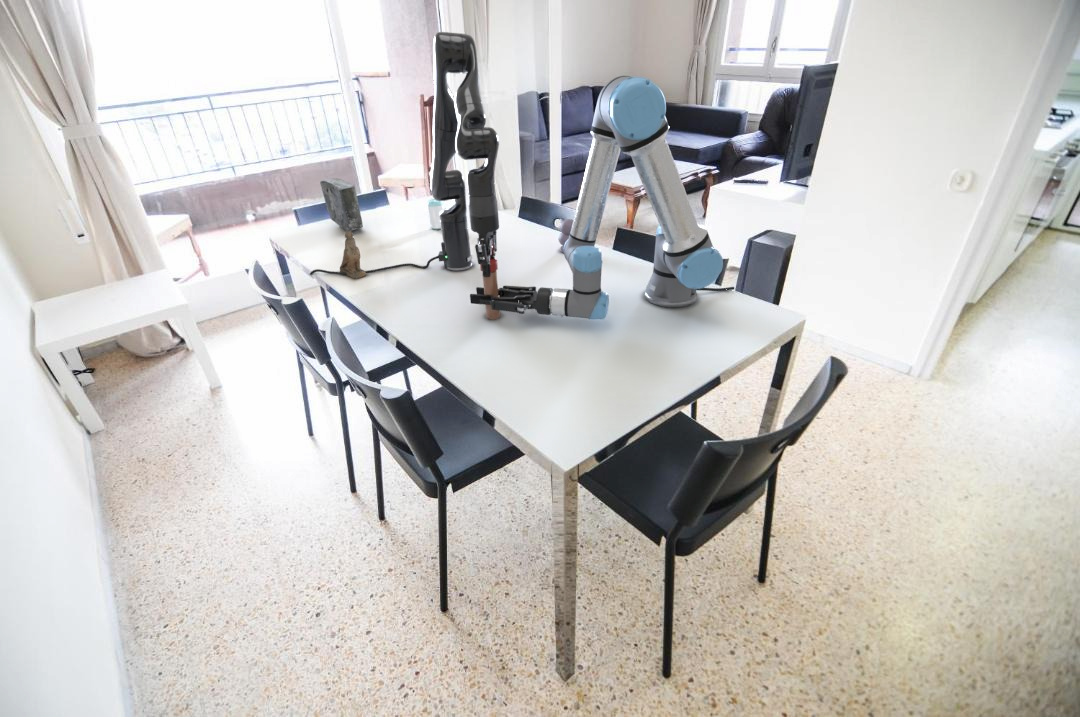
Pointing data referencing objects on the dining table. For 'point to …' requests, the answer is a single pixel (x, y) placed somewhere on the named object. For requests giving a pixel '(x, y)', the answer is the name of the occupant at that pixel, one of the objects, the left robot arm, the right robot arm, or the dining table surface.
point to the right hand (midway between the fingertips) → (474, 295)
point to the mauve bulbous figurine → (565, 231)
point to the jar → (491, 289)
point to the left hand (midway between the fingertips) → (489, 272)
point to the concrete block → (342, 203)
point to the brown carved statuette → (351, 258)
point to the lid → (491, 265)
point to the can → (435, 213)
